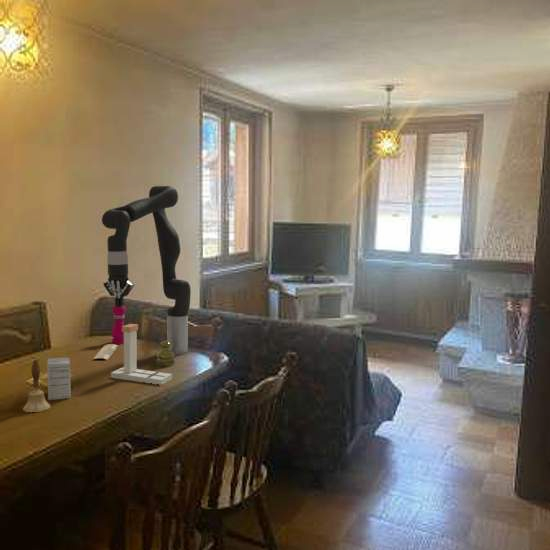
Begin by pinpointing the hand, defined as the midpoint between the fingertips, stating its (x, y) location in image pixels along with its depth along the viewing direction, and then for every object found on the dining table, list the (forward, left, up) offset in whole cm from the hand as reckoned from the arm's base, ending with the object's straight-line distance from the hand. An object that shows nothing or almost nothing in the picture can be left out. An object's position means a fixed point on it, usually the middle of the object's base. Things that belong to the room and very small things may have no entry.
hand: (119, 307), depth 216 cm
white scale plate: (+5, +10, -27) cm, 29 cm away
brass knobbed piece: (-15, +16, -27) cm, 35 cm away
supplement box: (+26, -14, -27) cm, 40 cm away
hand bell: (+38, -17, -27) cm, 50 cm away
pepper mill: (-49, -12, -27) cm, 57 cm away
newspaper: (-30, -13, -28) cm, 43 cm away
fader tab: (+3, +5, -24) cm, 25 cm away
